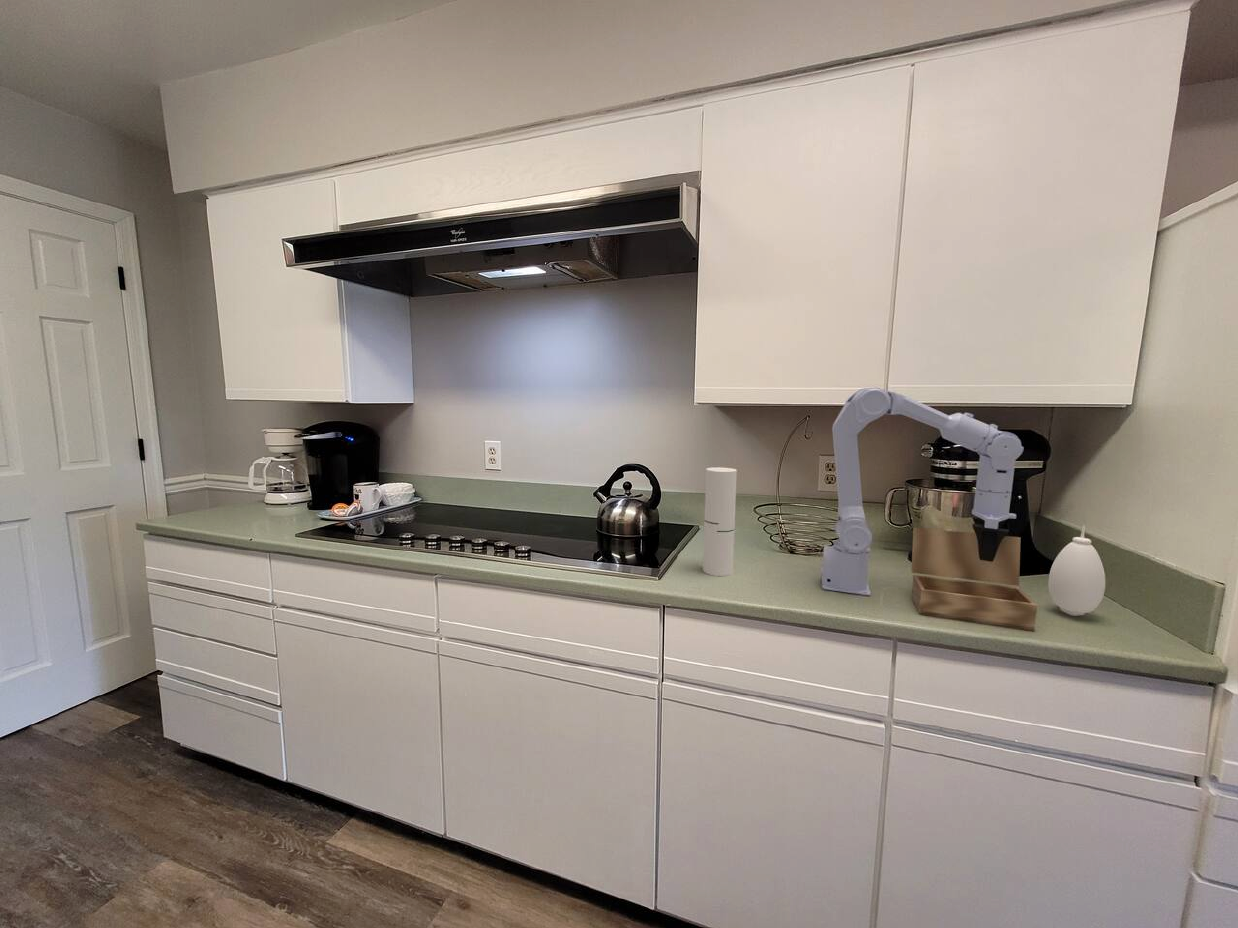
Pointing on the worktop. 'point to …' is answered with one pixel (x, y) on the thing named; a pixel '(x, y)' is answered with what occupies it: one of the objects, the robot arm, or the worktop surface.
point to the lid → (964, 557)
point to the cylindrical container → (719, 521)
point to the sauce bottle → (1077, 577)
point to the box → (974, 602)
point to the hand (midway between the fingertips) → (985, 555)
